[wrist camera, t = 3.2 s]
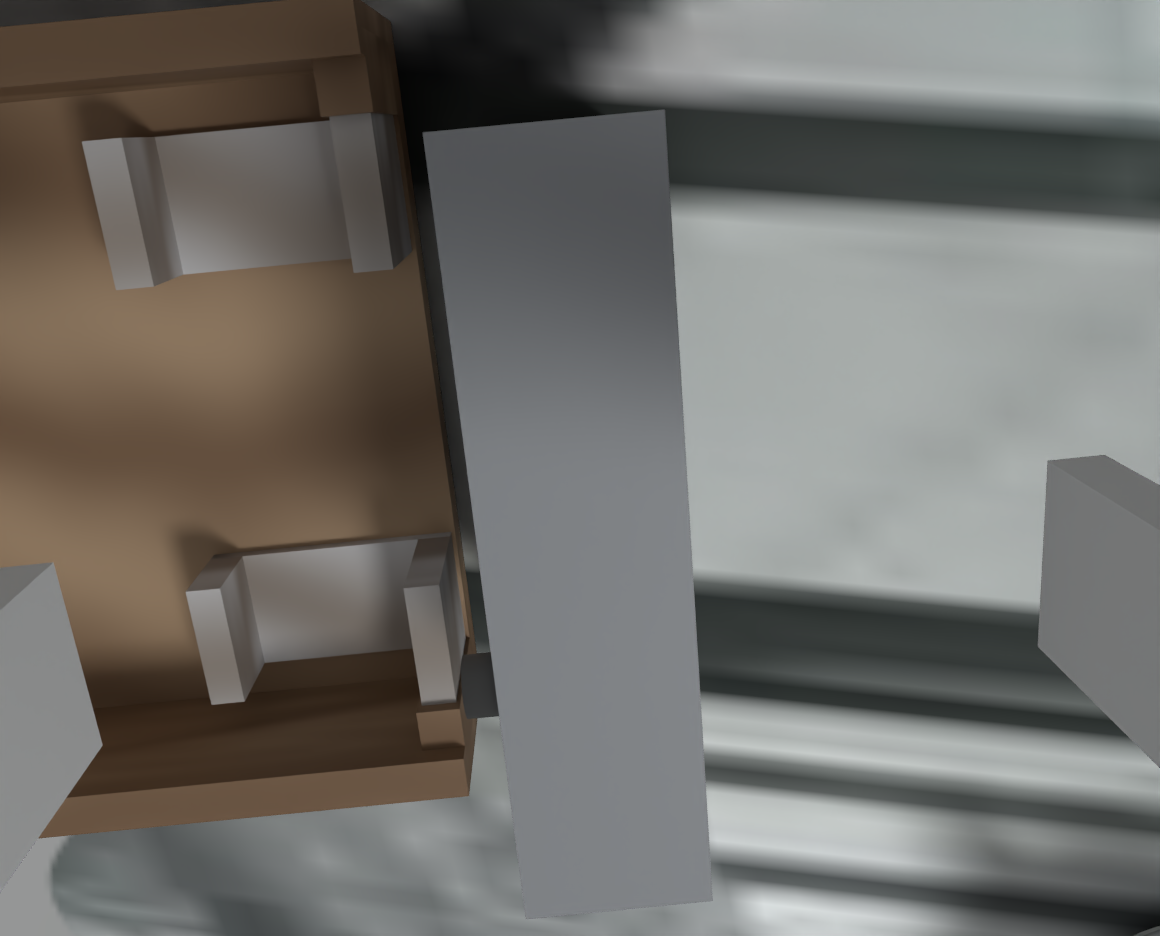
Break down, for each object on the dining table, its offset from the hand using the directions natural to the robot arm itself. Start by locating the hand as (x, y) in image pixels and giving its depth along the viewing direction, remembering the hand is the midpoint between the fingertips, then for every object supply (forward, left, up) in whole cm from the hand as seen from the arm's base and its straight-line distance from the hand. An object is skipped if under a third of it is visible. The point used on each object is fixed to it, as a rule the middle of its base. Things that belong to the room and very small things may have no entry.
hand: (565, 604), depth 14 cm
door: (0, 0, -13) cm, 13 cm away
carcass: (0, -10, -13) cm, 16 cm away
